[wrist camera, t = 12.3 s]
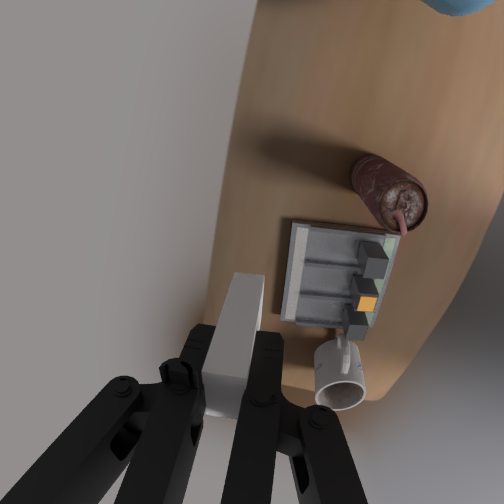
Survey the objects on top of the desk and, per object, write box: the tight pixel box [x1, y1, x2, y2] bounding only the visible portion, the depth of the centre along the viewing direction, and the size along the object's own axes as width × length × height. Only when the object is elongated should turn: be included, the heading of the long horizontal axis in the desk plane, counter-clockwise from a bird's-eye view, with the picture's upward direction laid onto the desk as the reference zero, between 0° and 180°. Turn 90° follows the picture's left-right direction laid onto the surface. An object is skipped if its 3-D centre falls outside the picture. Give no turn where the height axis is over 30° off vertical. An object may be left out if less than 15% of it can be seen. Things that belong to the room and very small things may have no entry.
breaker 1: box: [342, 305, 369, 341], centre depth 45 cm, size 3×3×5 cm
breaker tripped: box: [349, 275, 379, 312], centre depth 42 cm, size 3×3×5 cm
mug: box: [314, 334, 366, 411], centre depth 49 cm, size 12×9×10 cm
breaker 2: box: [357, 241, 389, 279], centre depth 40 cm, size 3×3×5 cm
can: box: [350, 155, 428, 236], centre depth 33 cm, size 6×6×14 cm
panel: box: [280, 219, 400, 329], centre depth 45 cm, size 17×16×2 cm
